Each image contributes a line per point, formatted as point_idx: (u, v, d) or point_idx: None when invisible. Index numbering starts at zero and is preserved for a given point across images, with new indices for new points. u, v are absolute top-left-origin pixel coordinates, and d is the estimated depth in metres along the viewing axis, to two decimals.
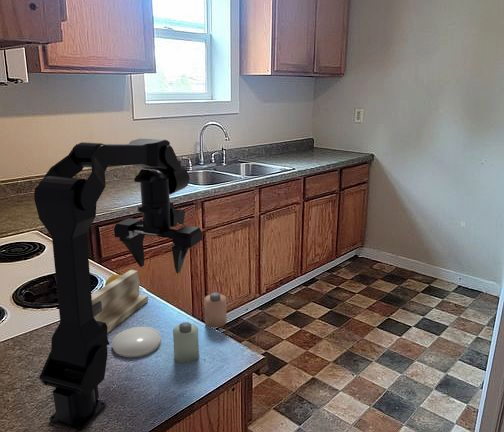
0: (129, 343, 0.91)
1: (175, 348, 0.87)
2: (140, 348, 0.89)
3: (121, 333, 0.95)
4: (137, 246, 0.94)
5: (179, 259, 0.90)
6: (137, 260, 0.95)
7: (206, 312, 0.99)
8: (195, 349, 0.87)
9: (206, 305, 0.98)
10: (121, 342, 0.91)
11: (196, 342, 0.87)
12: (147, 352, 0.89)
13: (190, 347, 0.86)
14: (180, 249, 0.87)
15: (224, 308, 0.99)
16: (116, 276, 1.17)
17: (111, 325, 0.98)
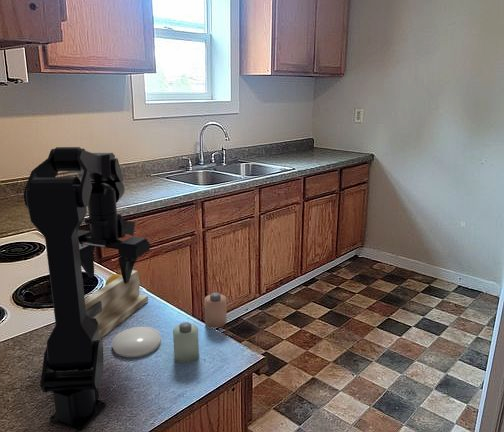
0: (129, 343, 0.91)
1: (175, 348, 0.87)
2: (140, 348, 0.89)
3: (121, 333, 0.95)
4: (86, 257, 0.96)
5: (126, 269, 0.92)
6: (86, 271, 0.96)
7: (206, 312, 0.99)
8: (195, 349, 0.87)
9: (206, 305, 0.98)
10: (121, 342, 0.91)
11: (196, 342, 0.87)
12: (147, 352, 0.89)
13: (190, 347, 0.86)
14: (126, 260, 0.89)
15: (224, 308, 0.99)
16: (116, 276, 1.17)
17: (111, 325, 0.98)
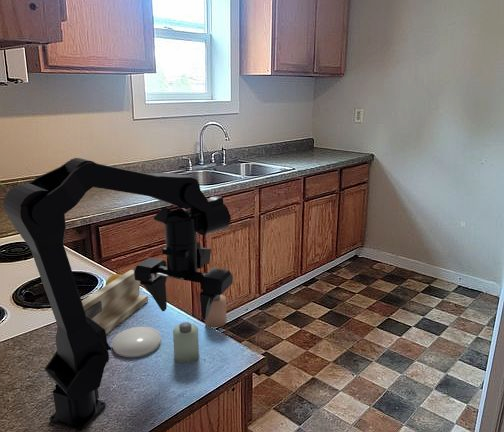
0: (129, 343, 0.91)
1: (175, 348, 0.87)
2: (140, 348, 0.89)
3: (121, 333, 0.95)
4: (159, 289, 0.86)
5: (207, 306, 0.82)
6: (159, 304, 0.86)
7: None
8: (195, 349, 0.87)
9: None
10: (121, 342, 0.91)
11: (196, 342, 0.87)
12: (147, 352, 0.89)
13: (190, 347, 0.86)
14: (209, 296, 0.79)
15: (224, 308, 0.99)
16: (116, 276, 1.17)
17: (111, 325, 0.98)
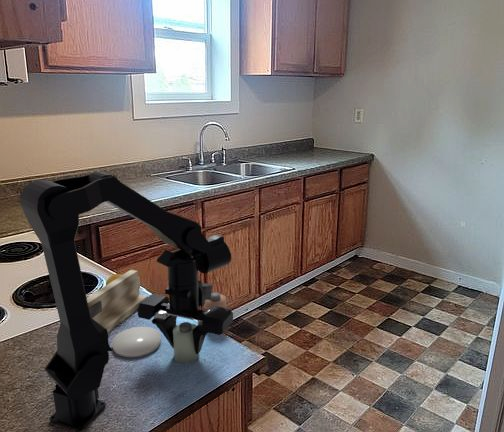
0: (129, 343, 0.91)
1: (175, 348, 0.87)
2: (140, 348, 0.89)
3: (121, 333, 0.95)
4: (170, 327, 0.87)
5: (200, 341, 0.85)
6: (170, 342, 0.88)
7: None
8: None
9: (206, 305, 0.98)
10: (121, 342, 0.91)
11: None
12: (147, 352, 0.89)
13: (190, 347, 0.86)
14: (201, 333, 0.82)
15: None
16: (117, 275, 1.17)
17: (111, 325, 0.98)
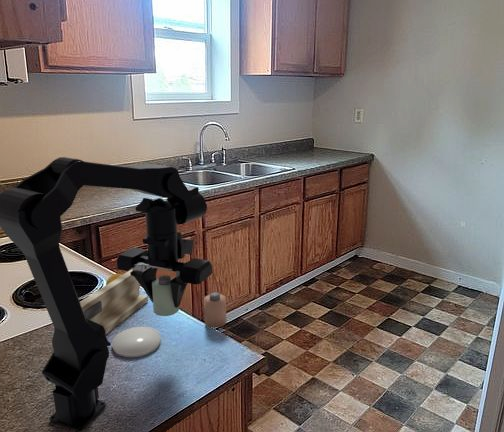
0: (129, 343, 0.91)
1: (153, 301, 0.85)
2: (140, 348, 0.89)
3: (121, 333, 0.95)
4: (149, 280, 0.86)
5: (178, 293, 0.83)
6: (149, 296, 0.87)
7: (206, 312, 0.99)
8: None
9: (206, 305, 0.98)
10: (121, 342, 0.91)
11: None
12: (147, 352, 0.89)
13: (168, 299, 0.84)
14: (179, 283, 0.81)
15: (224, 307, 0.99)
16: (117, 275, 1.18)
17: (111, 325, 0.98)
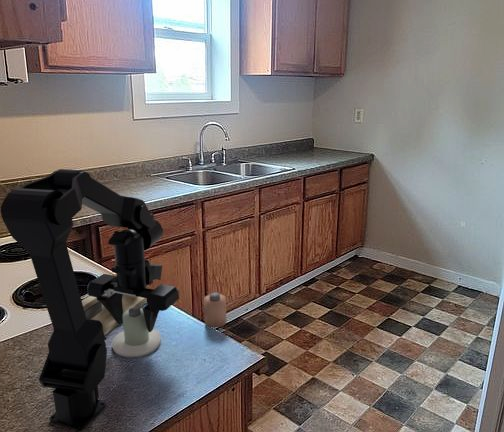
0: None
1: (124, 332, 0.90)
2: (140, 348, 0.89)
3: (121, 333, 0.95)
4: (115, 305, 0.91)
5: (151, 319, 0.88)
6: (116, 319, 0.91)
7: (207, 313, 0.99)
8: (144, 332, 0.91)
9: (206, 306, 0.98)
10: (121, 342, 0.91)
11: (145, 326, 0.91)
12: (147, 352, 0.89)
13: (138, 330, 0.89)
14: (151, 311, 0.85)
15: (224, 307, 0.99)
16: None
17: (111, 325, 0.98)
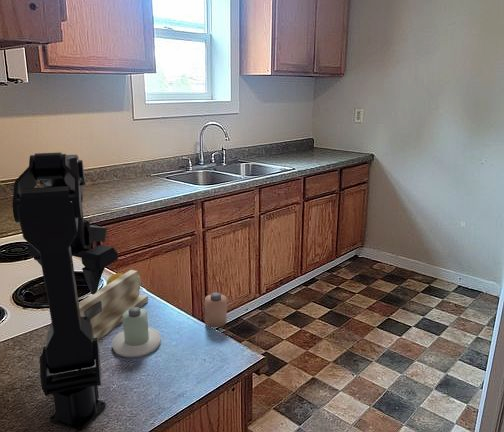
0: None
1: (124, 332, 0.90)
2: (140, 348, 0.89)
3: (121, 333, 0.95)
4: None
5: (92, 280, 0.86)
6: None
7: (207, 312, 0.99)
8: (144, 332, 0.91)
9: (208, 305, 0.98)
10: (121, 342, 0.91)
11: (145, 326, 0.91)
12: (147, 352, 0.89)
13: (138, 330, 0.89)
14: (90, 271, 0.83)
15: (225, 307, 0.99)
16: (118, 275, 1.18)
17: (111, 325, 0.98)
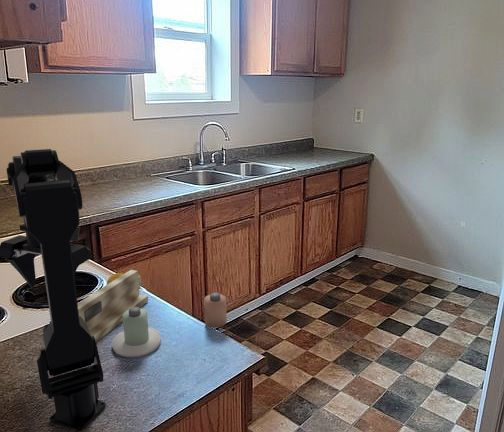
0: None
1: (124, 332, 0.90)
2: (140, 348, 0.89)
3: (121, 333, 0.95)
4: (25, 265, 0.90)
5: None
6: (26, 280, 0.91)
7: (207, 313, 0.99)
8: (144, 332, 0.91)
9: (207, 306, 0.98)
10: (121, 342, 0.91)
11: (145, 326, 0.91)
12: (147, 352, 0.89)
13: (138, 330, 0.89)
14: None
15: (225, 307, 0.99)
16: (118, 274, 1.18)
17: (111, 325, 0.98)
